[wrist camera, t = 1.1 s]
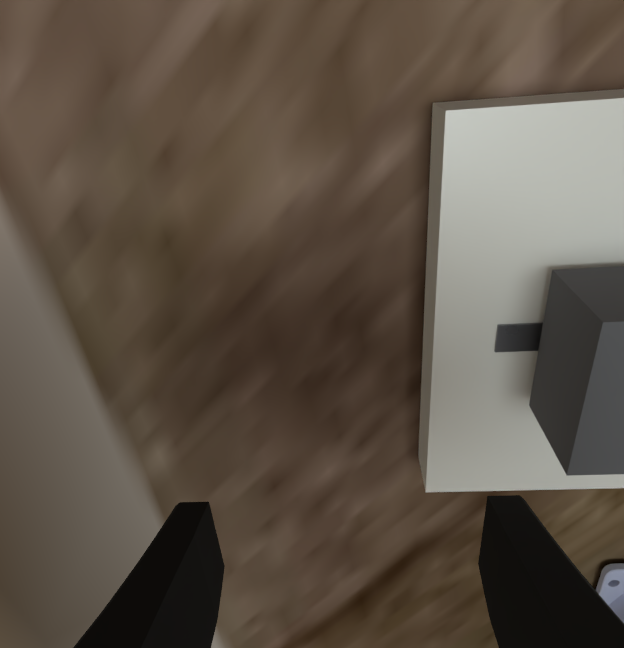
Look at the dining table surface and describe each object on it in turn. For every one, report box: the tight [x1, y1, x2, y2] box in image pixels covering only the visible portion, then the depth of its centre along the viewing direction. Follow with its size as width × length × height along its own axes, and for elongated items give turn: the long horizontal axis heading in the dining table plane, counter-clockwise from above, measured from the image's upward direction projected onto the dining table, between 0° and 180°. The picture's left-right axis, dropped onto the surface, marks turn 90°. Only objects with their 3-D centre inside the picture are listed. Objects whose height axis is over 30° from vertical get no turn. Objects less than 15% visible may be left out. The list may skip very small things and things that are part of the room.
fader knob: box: [529, 266, 624, 476], centre depth 15 cm, size 5×4×3 cm
